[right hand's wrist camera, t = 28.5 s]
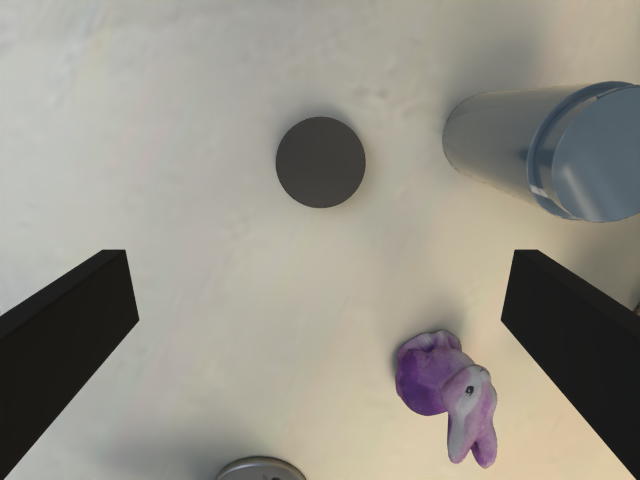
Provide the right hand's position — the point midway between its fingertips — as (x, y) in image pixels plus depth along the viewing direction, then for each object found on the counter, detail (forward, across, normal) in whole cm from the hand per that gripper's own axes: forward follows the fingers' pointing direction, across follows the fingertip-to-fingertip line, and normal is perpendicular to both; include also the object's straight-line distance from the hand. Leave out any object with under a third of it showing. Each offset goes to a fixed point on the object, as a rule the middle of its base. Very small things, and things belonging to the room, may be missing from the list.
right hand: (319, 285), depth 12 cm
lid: (+27, 0, 0) cm, 27 cm away
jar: (+29, -18, -3) cm, 34 cm away
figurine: (+29, -14, +25) cm, 41 cm away
